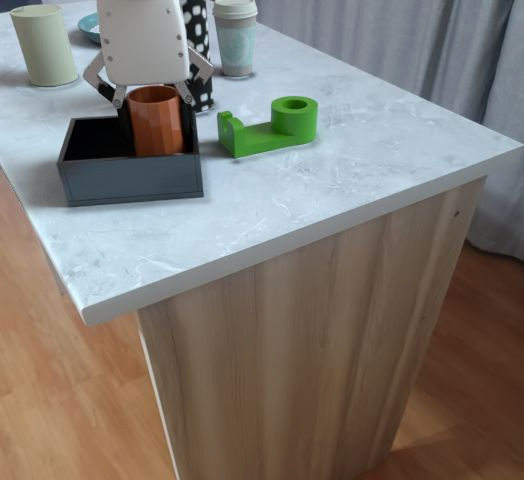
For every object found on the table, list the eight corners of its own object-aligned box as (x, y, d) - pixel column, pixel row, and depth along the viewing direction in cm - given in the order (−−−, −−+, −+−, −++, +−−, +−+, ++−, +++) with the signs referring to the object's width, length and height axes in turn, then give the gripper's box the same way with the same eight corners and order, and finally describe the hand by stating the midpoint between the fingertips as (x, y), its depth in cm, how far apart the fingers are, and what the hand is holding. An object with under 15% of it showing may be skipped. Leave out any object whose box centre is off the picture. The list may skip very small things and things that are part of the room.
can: (33, 72, 104) (12, 2, 96) (80, 69, 105) (63, -1, 97) (27, 88, 98) (3, 14, 89) (77, 84, 99) (58, 11, 90)
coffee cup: (208, 75, 102) (202, 3, 93) (229, 62, 107) (226, -7, 99) (245, 81, 99) (243, 8, 91) (266, 68, 104) (265, -2, 96)
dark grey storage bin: (69, 207, 66) (55, 163, 62) (81, 157, 77) (71, 117, 72) (204, 196, 68) (199, 153, 64) (199, 149, 78) (195, 110, 74)
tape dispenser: (302, 122, 85) (303, 93, 81) (324, 139, 80) (326, 108, 77) (217, 140, 80) (215, 109, 77) (236, 158, 76) (234, 127, 72)
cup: (137, 174, 70) (124, 105, 63) (139, 153, 74) (127, 86, 68) (188, 171, 70) (179, 102, 64) (186, 149, 75) (178, 83, 69)
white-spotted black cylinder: (156, 104, 91) (136, -35, 77) (193, 92, 95) (179, -43, 81) (186, 117, 87) (170, -28, 73) (223, 103, 91) (214, -37, 77)
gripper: (210, -38, 60) (221, 118, 73) (57, -32, 59) (95, 126, 71) (214, -26, 55) (225, 140, 68) (47, -19, 53) (90, 150, 66)
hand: (158, 132), depth 69 cm, fingers closed on cup, 6 cm apart
